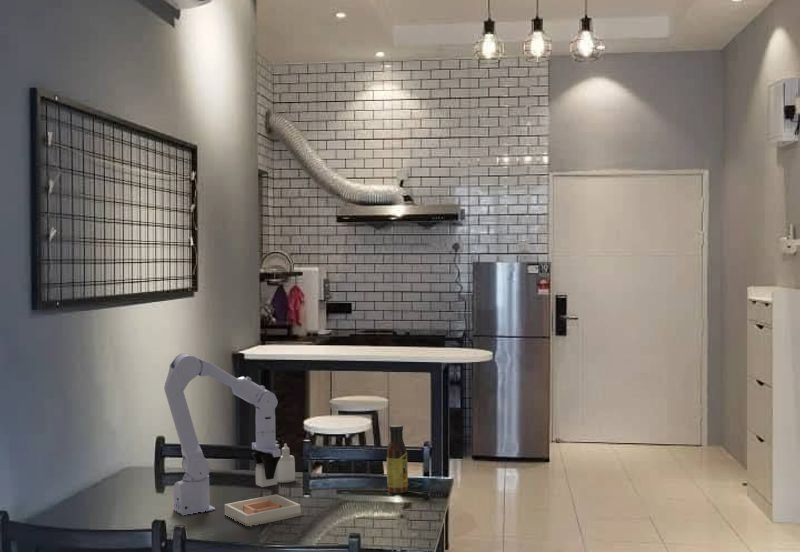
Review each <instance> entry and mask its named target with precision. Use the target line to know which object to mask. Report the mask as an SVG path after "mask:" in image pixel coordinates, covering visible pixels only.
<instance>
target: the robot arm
mask: <svg viewBox="0 0 800 552" xmlns="http://www.w3.org/2000/svg"><path fill="white" fill-rule="evenodd" d="M197 376H200V377H207V376H208V377H210V378H212V379H214V380H217V381H218V382H220V383H223V384H224V385H226V386H228V387H229V388H231V392H232V394H233V395H234V396H236V397H238V398H240V399H242V400H244V401H245V402H247V403H248V404H250V405H253V406H254V407H255V442H254V441H253V442H251V450H255V451H254V452H251V453H250V454H251V457H252V458H253V461H254V462H255V465H256V464H259V463H263V464H264V468H265V476H266V479H267V480H269V479H274V475H275V470H276V466H277V464H278V461H279V460H280V458H281V455H282V449H280V448H279V447H280V444H277V443H276V440H277V439H276V408H277V406H278V401H279V400H278V399H277V396H276V394H275V393H274V392H272V391H270V390H268V389H266V386H265V385H261V384H260V385H259V384H257V383H256V382H254V381H252V378H251V377H250V376H246V377H245V376H240V377H235V376H234V375H232V374H230V373H229V372H227V371H225V370H224V369H222V368H221V367H219V366H217V365H215V363H212V362H210V361H208V360H205V359H202V358H200V357H197V356H195V355H192V354H190V353H186V352H185V353H183V352H182V353H179V354H178V355H176V357H174V359H173V360H172V361H171V363H170V364H169V369H168V374H167V377H166V379H165V383H164V387H163V389H164V393H165V396H166V400H167V402H168V406H169V409H170V413H171V417H172V420H173V423H174V427H175V430H176V434H177V437H178V439H179V443H180V448H181V455H182V459H181V460H182V461H181V467H182V470H183V471H185V473H184V474H183V476H182V479H181V480H179V481H176V482H175V483H174V485H173V508H172V510H173V511H174V510H175V512H176V511H177V512H176V513H178V512H179V513H181V514H182V515H181V514H180V515H181V516H183V515H186V514H191V515H194V514H193V513H196V514H199V513H198V512H201V513H205V511H206V512H211V511H215V510H216V507H214V506H212V505H211V504H210V503H211V502H210V501H211V498H210V496H211V495H210V475H209V474H210V471H211V463H210V462H209V461H208V460H207V459H206V457H205V455H204V453H203V450H202V448H201V445H200V443H199V440H198V437H197V433H196V430H195V427H194V423H193V419H192V416H191V413H190V410H189V407H188V402H187V399H186V396H185V392H184V391H185V390H186V388H187V386H188V385H189V383H190V382H191V381H193V380H194V379H195V378H196V377H197ZM179 513H178V514H179ZM186 516H187V515H186Z"/></svg>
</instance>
